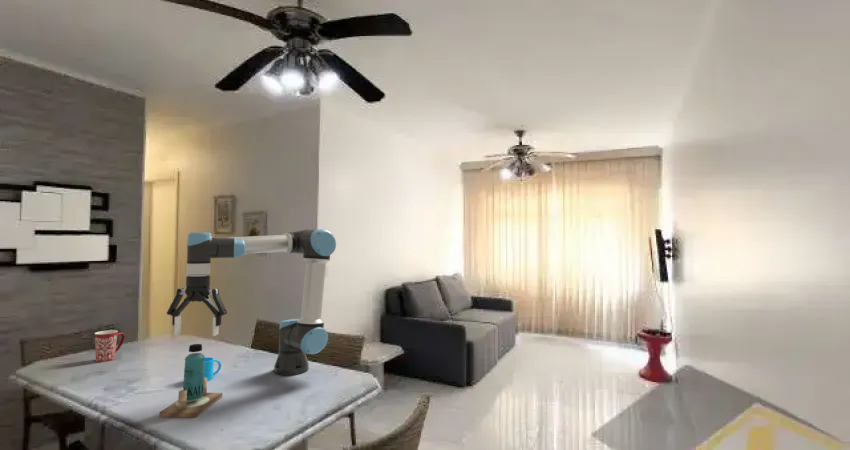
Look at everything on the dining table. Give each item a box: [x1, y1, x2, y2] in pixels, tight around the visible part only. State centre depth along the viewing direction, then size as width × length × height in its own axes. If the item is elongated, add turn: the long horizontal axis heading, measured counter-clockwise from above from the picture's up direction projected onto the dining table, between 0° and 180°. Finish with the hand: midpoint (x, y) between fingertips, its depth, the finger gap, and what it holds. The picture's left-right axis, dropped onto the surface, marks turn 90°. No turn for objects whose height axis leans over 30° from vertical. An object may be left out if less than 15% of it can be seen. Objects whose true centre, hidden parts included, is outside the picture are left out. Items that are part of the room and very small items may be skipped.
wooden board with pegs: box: [158, 378, 223, 418], centre depth 145 cm, size 12×18×8 cm, turn 0°
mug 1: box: [94, 329, 126, 363], centre depth 200 cm, size 13×9×14 cm
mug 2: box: [204, 356, 222, 382], centre depth 175 cm, size 12×8×8 cm
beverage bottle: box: [182, 343, 206, 401], centre depth 145 cm, size 6×7×20 cm
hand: (196, 334), depth 146 cm, fingers open, 13 cm apart
